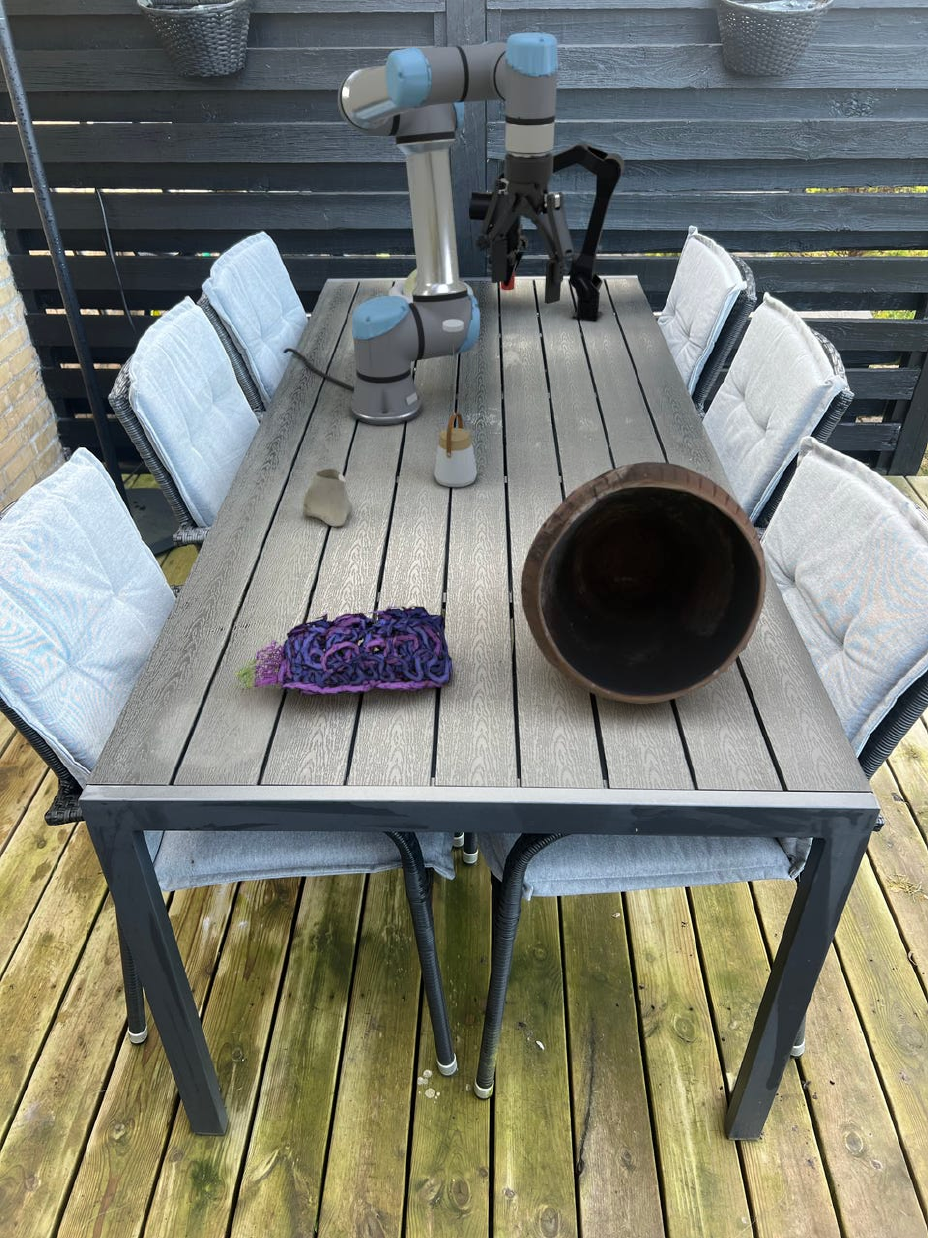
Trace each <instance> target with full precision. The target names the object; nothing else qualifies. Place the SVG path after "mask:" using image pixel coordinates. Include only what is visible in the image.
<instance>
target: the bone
mask: <svg viewBox="0 0 928 1238" xmlns="http://www.w3.org/2000/svg"><path fill="white" fill-rule="evenodd" d="M347 489H348V488H347V480H346V478H345V476H344V475H343V474H342V473H341V472H340V471H338V470H337V469H334V468H326V469H321V470H319V471H316V473H315V475H314V476H313V478H312V481H311V482H310V485H309V486H308V487H307V490H306V491H305V493H304V496H303V498H302V508H301V513H302V514H303V515H305V516H307V517H314V518H317V519H319V520H322V521H323V522H324V523H325V524H327V525H328V526H330V527H334V528H336V527H342V526H344V525H345V524H346V520H347V516H348V515H349V514H351V512H352V511H353V503H352V502H351V501H350V499H349V495H348V490H347Z"/></svg>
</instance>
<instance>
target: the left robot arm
mask: <svg viewBox="0 0 928 1238" xmlns="http://www.w3.org/2000/svg"><path fill="white" fill-rule="evenodd" d="M558 44H559V43H558V39H557V38H556V36H555V35H553V34H551V33H543V32H518V33H517V32H516V33H512V34H511V35H509V36H508V39H507V41H505V40H487V41H485V42H482V43H481V44H467V45H454V46H440V47H438V46H437V47H421V48H420V47H407V48H403V49H396V50H393V51H391V52H390V53H389V54H388V55H387V56H388V57H387V60H386V62H385V64H384V65H373V66H369V67H364V68H359V69H357V70H354V71H352V72H351V73H349V74H347V75H346V76H345V77H344V78H343V80H342V81H341V83H340V85H339V88H338V92H337V106H338V111H339V113H340V115H341V117H342V119H343V120H344V121H345V123H346V124H347V125H348V126H349V127H351V128H352V129H353V130H355V131H357V132H358V133H361V134H363V135H367V136H372V137H391V136H393V137H394V136H395V144H396V147H397V148H398V149H399V150H400V151H401V152H402V153H403V154H404V156H405V168H406V176H407V177H406V178H407V187H408V195H409V206H410V213H411V214H410V215H411V223H412V224H411V225H412V235H413V243H414V254H415V255H414V256H415V263H416V264H415V265H416V269H417V274H418V285H417V286H416V288H415V289H414V290H413V292H412V296H413V303H407V301H406V299H404V298H402V297H399V296H391V297H389V296H388V295H382V296H377V297H372V298H371V299H370V298H369V299H368V300H366V301H363V302H362V303H360V304H359V305H357V307H356V308H355V309H354V310H353V312H352V316H351V318H352V319H351V320H352V321H351V322H352V324H351V325H352V327H351V328H352V329H351V336H352V339H353V340H352V341H353V350H354V351H353V352H354V363H355V364H354V365H355V373H356V374H355V375H356V379H355V383H354V386H353V385H350V384H347V383H345V382H344V381H341V380H338V379H336V378H334V377H332V376H330V375H329V374H326V373H324V372H322V371H321V370H319V369H318V368H316V367H315V366H313V365H312V364H311V363H310V362H309V360H308V359H307V357H305V356H304V355H303V354H302V353H300V352H298V351H297V350H296V349H294V348H290V347H288V348H285V349H284V350H283V354H287V353H288V352H289V353H292V354H294V355H296V356H297V357H299V358H300V359H302V361H303V362H304V363H305V365H306V366H307V367H308V368H309V369H310V370H312V371H313V372H314V373H316V374H318V375H319V376H321V377H323V378H325V379H326V380H329V381H331V382H333V383H335V384H337V385H339V386H342V387H344V388H346V389H349V390H351V391H353V395H352V397H351V399H350V413H351V415H352V417H353V418H354V419H356V420H357V421H359V422H362V423H364V424H369V425H375V426H393V425H398V424H403V423H406V422H409V421H411V420H413V419H415V418H417V416H419V415H420V413H421V411H422V401H421V396H420V395H419V393H418V390H417V386H416V385H415V381H414V378H413V377H412V362H418V361H422V360H428V359H433V358H441V357H447V356H451V357H453V332H448V331H445V330H443V322H444V321H446V320H451V319H455V320H461V321H463V323H464V328H463V330H461V331H458V332H454V356H456V355H459V354H462V353H466V352H467V353H468V352H470V351H471V350H472V349H473V348H474V347H475V345H476V343H477V342H478V339H479V336H480V330H481V312H480V311H481V310H480V308H479V304H478V300H477V299H476V297H475V296H474V294H473V295H470V294H468V290H467V286H466V285H465V284H464V283H465V282H464V283H462V282H463V281H462V280H461V278H460V271H459V269H460V268H459V258H458V249H457V248H458V247H457V235H456V233H457V232H456V223H455V222H456V221H455V210H454V200H453V199H454V198H453V186H452V175H451V174H452V173H451V163H450V162H451V161H450V149H451V148H452V147H453V145H454V143H455V142H456V132H457V131H458V130H460V129H461V128H462V127H463V125H464V122H465V121H464V120H465V118H464V116H465V103H471V102H472V103H473V102H484V101H485V102H486V101H503V102H505V116H504V148H503V149H504V150H505V151H506V153H505V155H504V167H503V168H504V170H503V172H504V177H505V178H504V179H499V180H498V179H495V180H494V181H493V182H494V183H493V190H494V194H493V197H492V200H491V203H490V206H489V209H488V212H487V215H486V218H485V220H483V224H482V227H481V229H480V230H481V235H486V236H487V237H488V239H489V241H490V248H489V256H490V258H491V260H492V265H491V273H490V274H491V277H490V278H491V280H490V281H491V283H492V284H497V283H501V282H502V281H505V280H506V267H507V241H505V240H502V241H501V239H505V238H506V237H505V235H506V233H507V232H508V230H509V229H510V227H511V225H512V224H513V222H514V221H515V219H516V218H517V216H521V217H523V218H525V219H527V220H530V222H531V224H532V225H534V226H535V228H536V230H537V232H538V235H539V237H540V239H541V241H542V244H543V246H544V249H545V251H546V253H547V256H548V258H549V260H548V261H546V263H545V284H544V304H546V305H550V304H553V303H556V302H557V303H558V302H560V301H561V289H562V288H561V287H562V283H563V281H564V272H565V262H566V261H569V260H572V259H573V258H574V257H575V253H576V252H575V249H574V245H573V241H572V237H571V234H570V233H571V232H570V229H569V225H568V221H567V217H566V213H565V209H564V194H563V192H562V191H558V192H550V191H549V182H550V181H551V180H552V178H553V174H554V173H553V153H552V152H551V151H553V150H554V148H555V147H554V144H555V126H556V125H555V123H556V122H555V121H556V108H557V107H556V106H557V105H556V103H557V89H558V87H557V86H558V70H559V60H558V48H559V47H558V46H559V45H558ZM508 197H509V200H508ZM507 200H508V202H507ZM461 281H462V282H461Z"/></svg>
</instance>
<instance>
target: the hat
mask: <svg viewBox="0 0 928 1238" xmlns="http://www.w3.org/2000/svg"><path fill="white" fill-rule="evenodd" d="M460 281H461V282H462V283H464V284H465V285H466V286H467V290H468V294H470V295H473V296H474V291H473V289H472V287H471V286H470V285H469V284H468V283H466V282H464V281H462V280H460ZM417 285H418V274H417V268H415V269H414V270H413V271H411V273H409V275H407V277H406V279H404V280H402V281H400V282H397V283H396V284H394V285H393V286H392V287H391V288H390V289H389V291H388V295H387V296H389V297H391V296H399V297H402V298H404V299H406V301H407V303H413V296H412V292H413V290H414V289H415V288H416V286H417Z"/></svg>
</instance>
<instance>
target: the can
mask: <svg viewBox="0 0 928 1238" xmlns="http://www.w3.org/2000/svg"><path fill="white" fill-rule="evenodd" d="M515 278H516V273H515V270H514V272H513V275H512V278H511V280H510V283H509V285H508V286H505V285H504V282H503V281H502V282H500V289H501V290H502V291H513V290H514V289H515V282H516V281H515V280H516V279H515Z"/></svg>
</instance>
